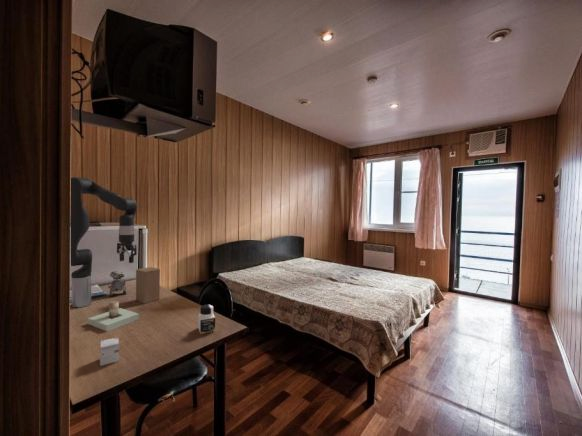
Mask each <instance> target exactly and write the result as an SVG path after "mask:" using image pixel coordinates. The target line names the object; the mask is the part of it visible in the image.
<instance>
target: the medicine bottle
mask: <svg viewBox="0 0 582 436" xmlns="http://www.w3.org/2000/svg"><path fill="white" fill-rule="evenodd" d="M197 317H198V318H197V328H198V330H199V331H198V332H199V333H200V335H201V334H206V333H212V331H213V332H216V316H215V314H214V306H213V305H211V304H204V305H201V307H200V313H199V314H198V316H197Z"/></svg>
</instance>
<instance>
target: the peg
mask: <svg viewBox="0 0 582 436" xmlns="http://www.w3.org/2000/svg"><path fill="white" fill-rule="evenodd" d="M119 303H120V301H118V300H115V301H110V302H109V303H108V312H109V317H110V319H114V318H116V317H118V316H119V308H120V307H119V306H120V304H119Z"/></svg>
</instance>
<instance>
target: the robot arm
mask: <svg viewBox="0 0 582 436" xmlns="http://www.w3.org/2000/svg"><path fill="white" fill-rule="evenodd" d="M70 179H71V267H77V266H78V267H79V266H81V267H80V268H78V269H76V270H74V271H73V272H72V273H71V276H70V278H71V281H70V282H71V283H70V284H71V286H70V287H71V293H70V294H71V297H70V298H71V301H70V302H71V307H72V308H75V307H78V308H85V307H87V306H89V305H91V304H92V270H93V269H92V268H93V267H92V266H93V265H92V264H93V252H92V250H91V249H90V248H81V249H78V246H79V243H80V241H81V240H82V238H83V237H84V236H85V234H86V233H87V232H88V231H89V229H90V215H89V213H88V211H87V209H86V207H84V204H83V201H82V195H87V194H89V195H93V196H96V197H98V198H99V200H101V201H102V202H104V203H106V204H108V205H111V206H113V208H115V209H116V210H118V211H122V212H124V214H122V215H120V216H119V225H118V242H117V243H116V253H117V254H118V255H119V262H124V261H125V252H126V254H128V263H129V264H133V263H134V261H135V260H134V259H135V256H137V255H138V253H137V249H138V248H137V244H133V243H134V242H135V216H136V213H137V209H138V203H137V201H136V199H134V198H129V197H128V198H126V197H122V195H120V194H119V193H117V192H114V191H111V190H109V189H106V188H104V187H102V186H101V185H99V184H98V183H96V182H94V181H93V180H91V179H90V178H86V177H78V176H77V177H76V176H74V177H70Z"/></svg>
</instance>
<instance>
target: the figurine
mask: <svg viewBox="0 0 582 436" xmlns="http://www.w3.org/2000/svg"><path fill="white" fill-rule="evenodd" d="M109 277H111V278H112V279H113V280H112V281H111V284H110V285H109V284H107V286H108V289H109V296H110V297H113V296H114V294H113V293H114V292H120V291H121V292H122V293H123V295H127V287H126V285H127V284H126V280H125V279H122V278H124V277H125V275H124V274H123V271H121V272H120V271H117V270H114V271H112V272H110V273H109Z"/></svg>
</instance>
